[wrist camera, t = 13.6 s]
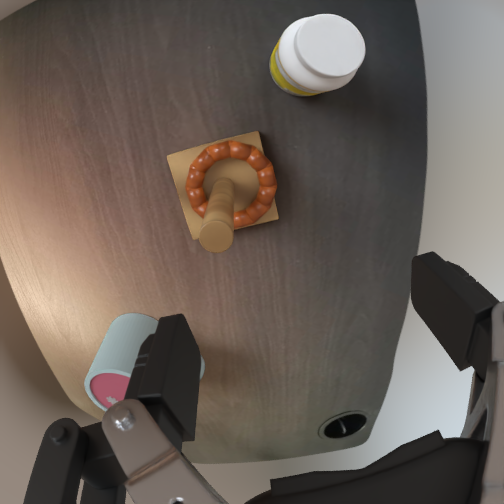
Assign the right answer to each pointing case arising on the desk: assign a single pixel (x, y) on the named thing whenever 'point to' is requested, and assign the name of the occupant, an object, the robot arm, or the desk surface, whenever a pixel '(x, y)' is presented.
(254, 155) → the ring
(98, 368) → the mug
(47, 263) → the desk surface
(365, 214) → the desk surface
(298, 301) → the desk surface
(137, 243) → the desk surface
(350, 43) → the pill bottle
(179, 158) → the stand
